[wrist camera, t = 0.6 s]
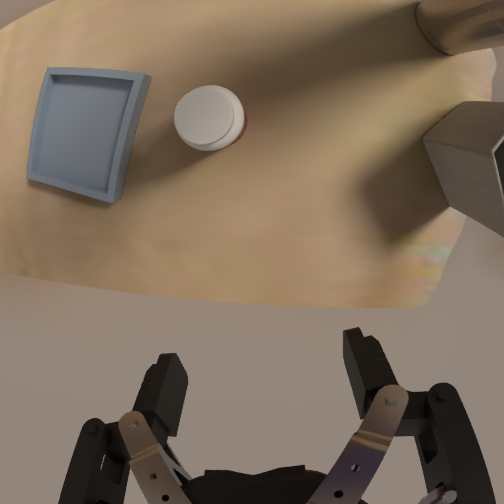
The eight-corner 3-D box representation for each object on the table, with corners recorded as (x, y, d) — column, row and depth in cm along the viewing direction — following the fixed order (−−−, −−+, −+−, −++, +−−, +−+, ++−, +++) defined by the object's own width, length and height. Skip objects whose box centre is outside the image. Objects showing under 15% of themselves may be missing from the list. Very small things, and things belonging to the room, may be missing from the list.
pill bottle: (256, 108, 29) (257, 96, 19) (233, 155, 31) (223, 166, 21) (206, 88, 28) (184, 68, 18) (185, 135, 30) (153, 138, 20)
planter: (426, 82, 26) (537, 73, 8) (467, 102, 26) (570, 112, 9) (411, 196, 33) (511, 258, 15) (451, 206, 33) (544, 265, 15)
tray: (57, 69, 25) (47, 67, 23) (151, 77, 27) (144, 73, 25) (36, 174, 31) (26, 178, 29) (121, 198, 33) (112, 203, 31)
